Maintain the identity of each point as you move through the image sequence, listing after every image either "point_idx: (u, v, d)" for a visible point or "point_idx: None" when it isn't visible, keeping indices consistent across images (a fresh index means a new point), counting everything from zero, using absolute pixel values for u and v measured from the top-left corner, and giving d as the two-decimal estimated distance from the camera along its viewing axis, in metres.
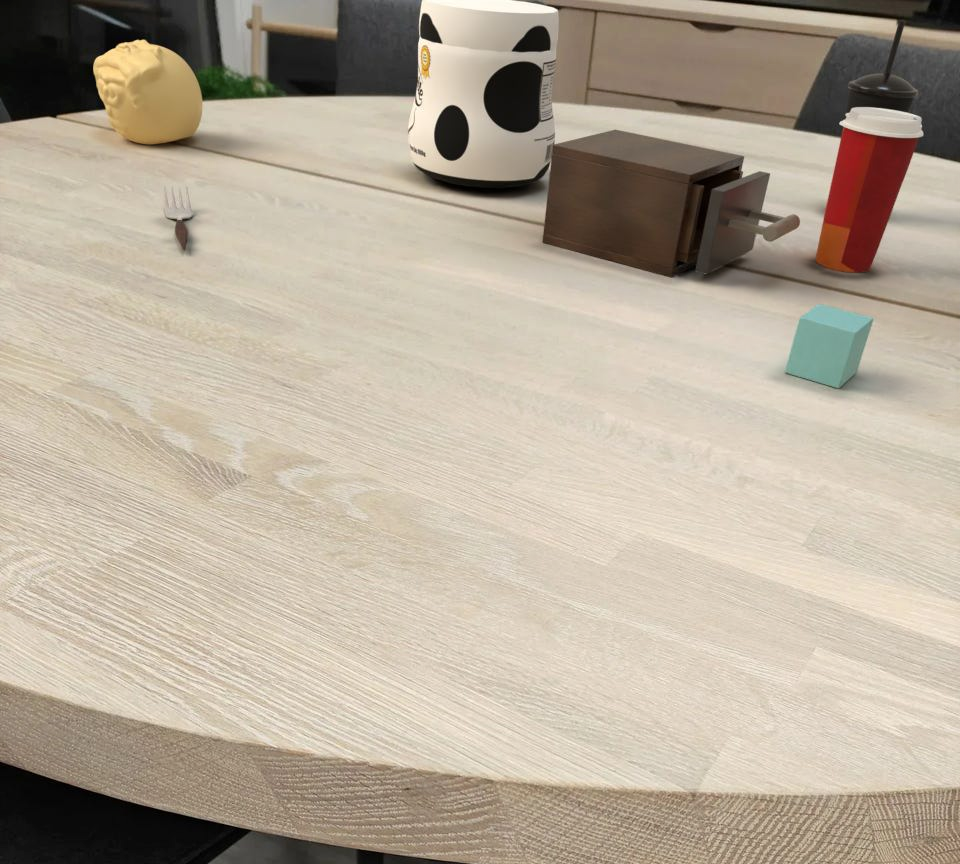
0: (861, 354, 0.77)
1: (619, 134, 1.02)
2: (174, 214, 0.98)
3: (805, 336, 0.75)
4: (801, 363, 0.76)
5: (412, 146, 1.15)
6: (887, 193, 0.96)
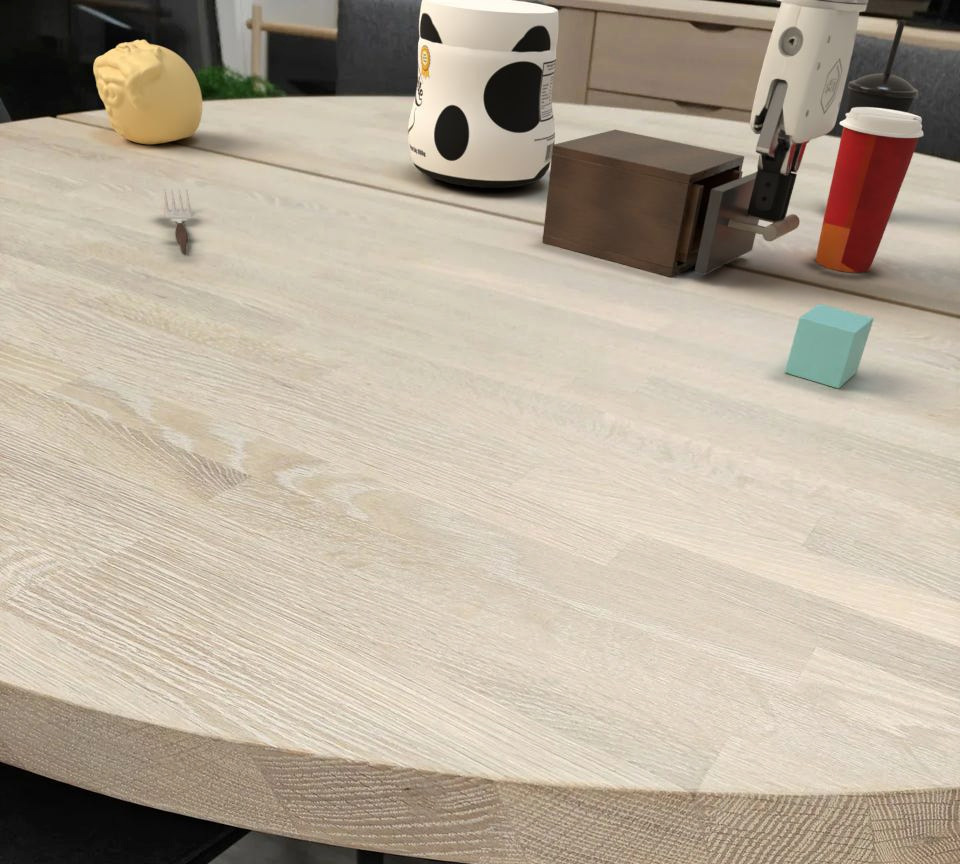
0: (861, 354, 0.77)
1: (619, 134, 1.02)
2: None
3: (805, 336, 0.75)
4: (801, 363, 0.76)
5: (412, 146, 1.15)
6: (887, 193, 0.96)
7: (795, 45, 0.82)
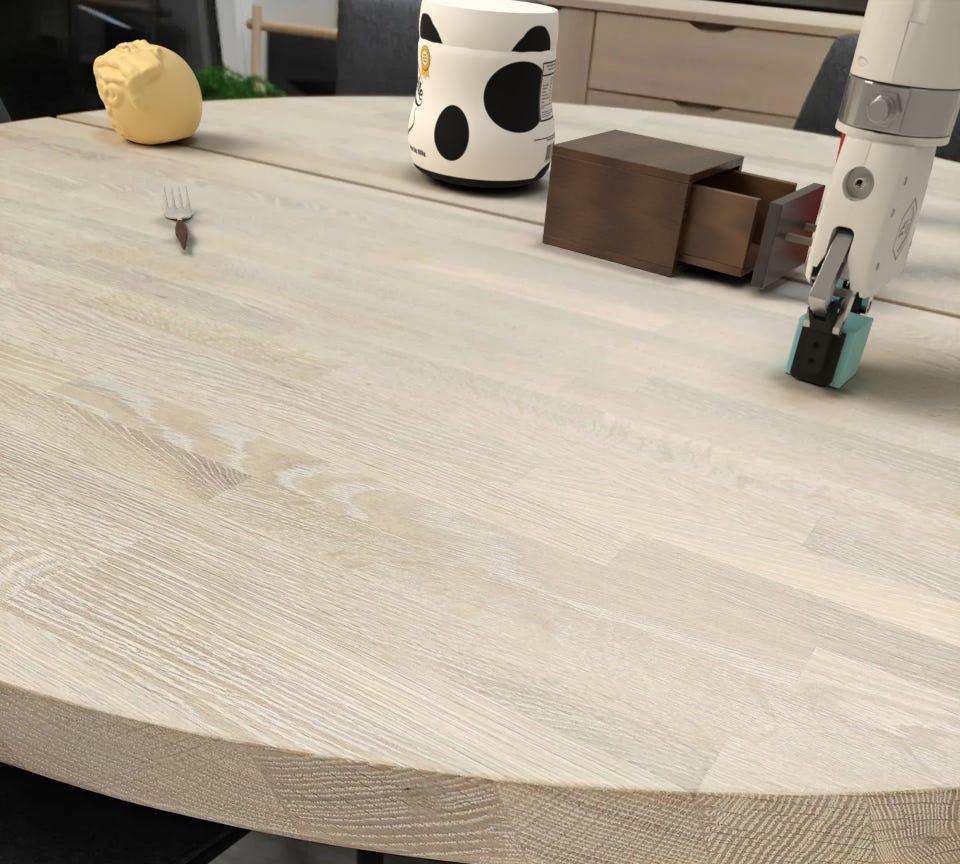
0: (861, 354, 0.77)
1: (619, 134, 1.02)
2: (174, 214, 0.98)
3: None
4: None
5: (412, 146, 1.15)
6: None
7: (863, 187, 0.66)
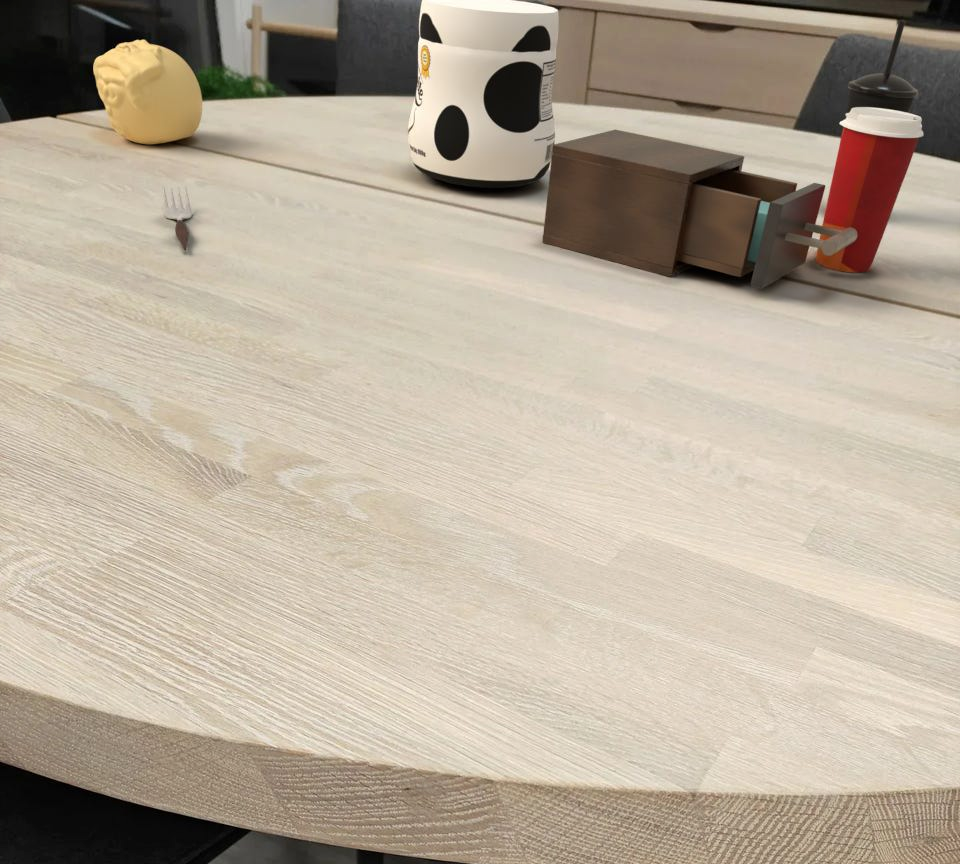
0: None
1: (619, 134, 1.02)
2: (174, 214, 0.98)
3: None
4: None
5: (412, 146, 1.15)
6: (887, 193, 0.96)
7: None
